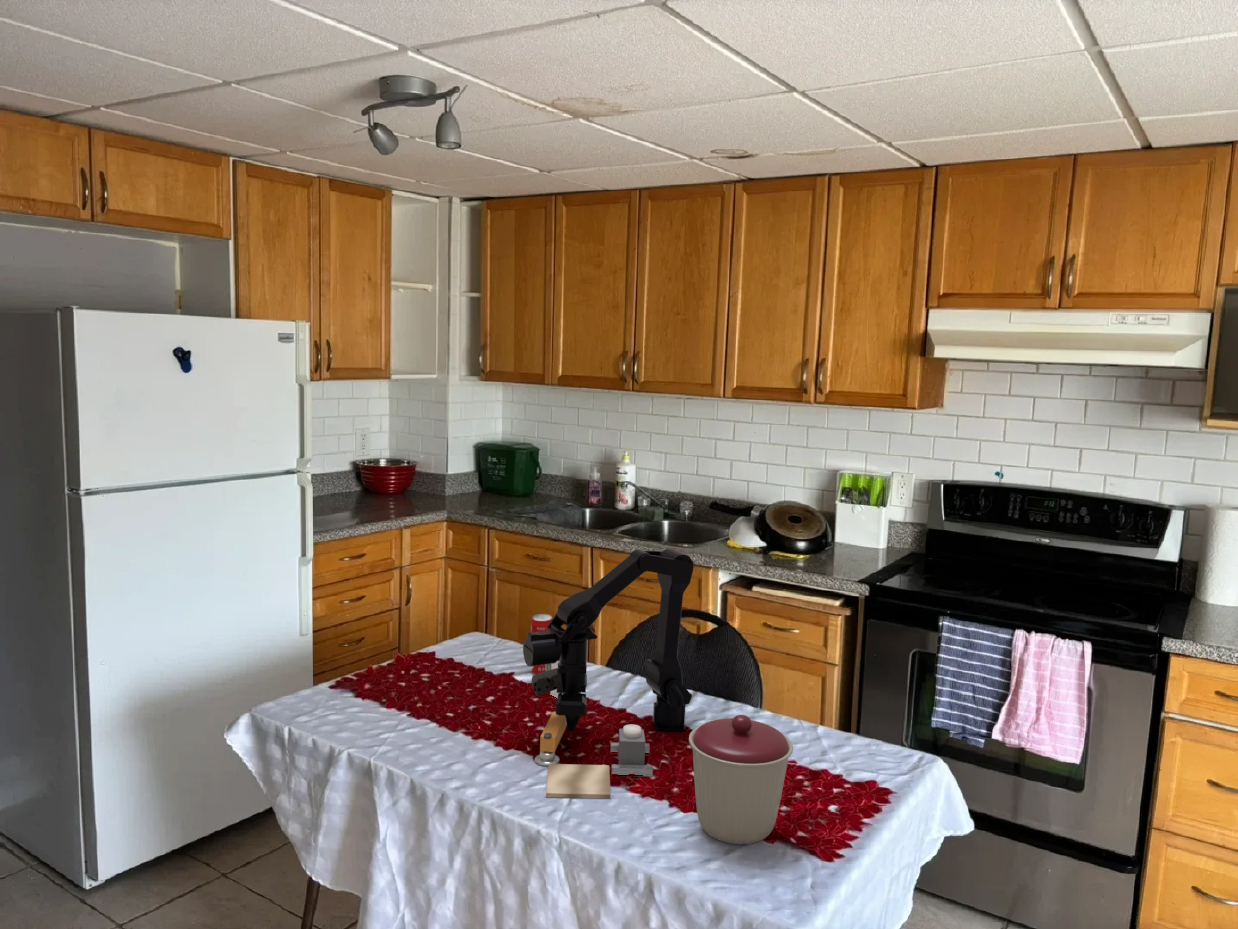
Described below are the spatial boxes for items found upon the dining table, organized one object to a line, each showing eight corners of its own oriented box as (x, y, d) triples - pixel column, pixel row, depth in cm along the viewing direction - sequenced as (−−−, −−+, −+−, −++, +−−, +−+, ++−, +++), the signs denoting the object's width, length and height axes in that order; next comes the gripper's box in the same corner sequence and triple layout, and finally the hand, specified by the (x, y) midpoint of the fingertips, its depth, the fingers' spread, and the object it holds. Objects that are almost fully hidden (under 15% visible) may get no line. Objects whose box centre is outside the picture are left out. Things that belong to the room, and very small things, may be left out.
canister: (669, 840, 162) (675, 724, 159) (703, 795, 178) (709, 689, 175) (772, 868, 154) (780, 747, 152) (797, 818, 171) (805, 708, 168)
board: (609, 769, 187) (609, 765, 187) (610, 798, 175) (610, 794, 175) (548, 767, 187) (549, 764, 187) (546, 797, 175) (546, 793, 175)
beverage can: (558, 671, 240) (560, 614, 238) (545, 679, 234) (547, 621, 232) (538, 667, 242) (539, 611, 240) (525, 675, 236) (526, 617, 234)
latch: (552, 724, 202) (553, 708, 202) (566, 726, 202) (567, 710, 202) (539, 752, 189) (539, 735, 188) (553, 754, 189) (554, 737, 188)
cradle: (648, 750, 196) (649, 742, 196) (652, 776, 185) (652, 767, 185) (536, 748, 195) (536, 739, 195) (532, 773, 184) (533, 765, 184)
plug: (642, 757, 193) (643, 722, 192) (644, 770, 188) (645, 734, 186) (618, 756, 193) (619, 721, 192) (619, 769, 187) (620, 734, 186)
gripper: (537, 644, 205) (535, 712, 207) (531, 675, 187) (529, 749, 189) (587, 645, 206) (585, 713, 208) (587, 676, 187) (585, 750, 189)
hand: (570, 731), depth 198 cm, fingers closed
